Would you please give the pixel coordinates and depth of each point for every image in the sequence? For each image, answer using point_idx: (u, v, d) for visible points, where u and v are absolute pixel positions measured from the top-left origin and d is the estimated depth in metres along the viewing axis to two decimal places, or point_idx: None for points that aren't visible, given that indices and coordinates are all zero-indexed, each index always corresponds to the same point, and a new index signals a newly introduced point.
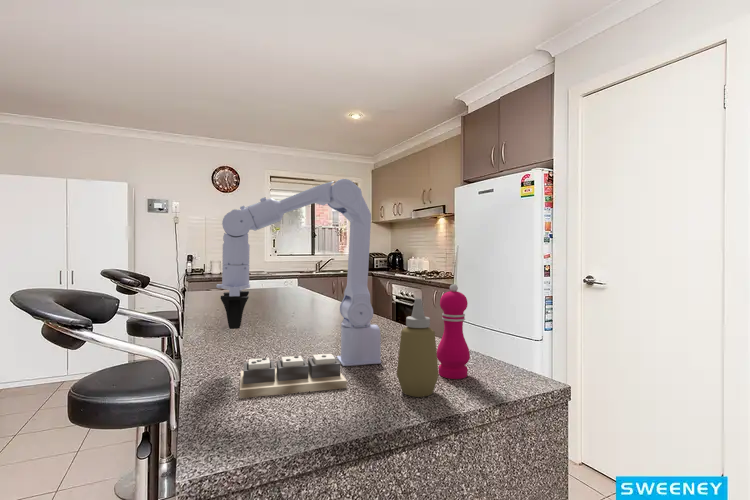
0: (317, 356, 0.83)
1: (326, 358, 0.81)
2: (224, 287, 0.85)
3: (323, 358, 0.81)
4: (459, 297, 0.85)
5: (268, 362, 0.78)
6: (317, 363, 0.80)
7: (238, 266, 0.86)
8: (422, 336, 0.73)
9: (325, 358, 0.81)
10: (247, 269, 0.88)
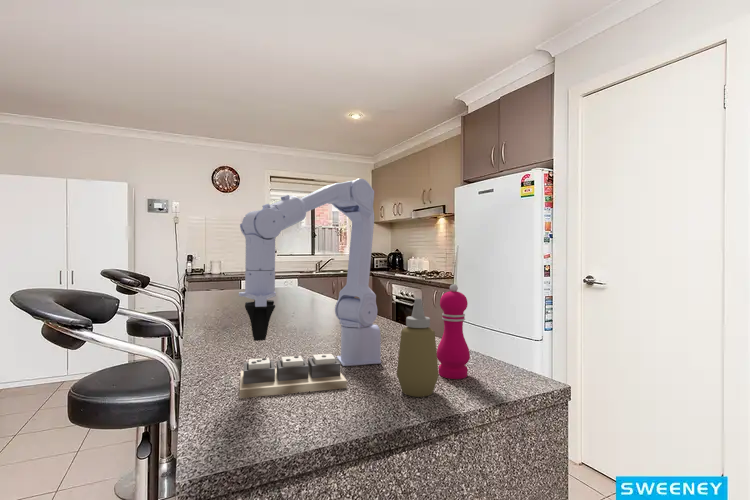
0: (317, 356, 0.83)
1: (326, 358, 0.81)
2: (248, 296, 0.75)
3: (323, 358, 0.81)
4: (459, 297, 0.85)
5: (268, 362, 0.78)
6: (317, 363, 0.80)
7: (263, 272, 0.76)
8: (422, 336, 0.73)
9: (325, 358, 0.81)
10: (273, 275, 0.78)
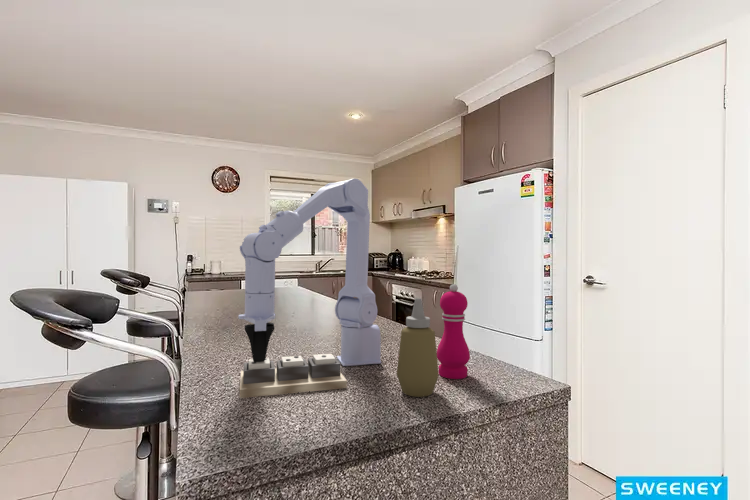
0: (317, 356, 0.83)
1: (326, 358, 0.81)
2: (248, 319, 0.75)
3: (323, 358, 0.81)
4: (459, 297, 0.85)
5: (268, 362, 0.78)
6: (317, 363, 0.80)
7: (263, 295, 0.76)
8: (422, 336, 0.73)
9: (325, 358, 0.81)
10: (273, 298, 0.78)
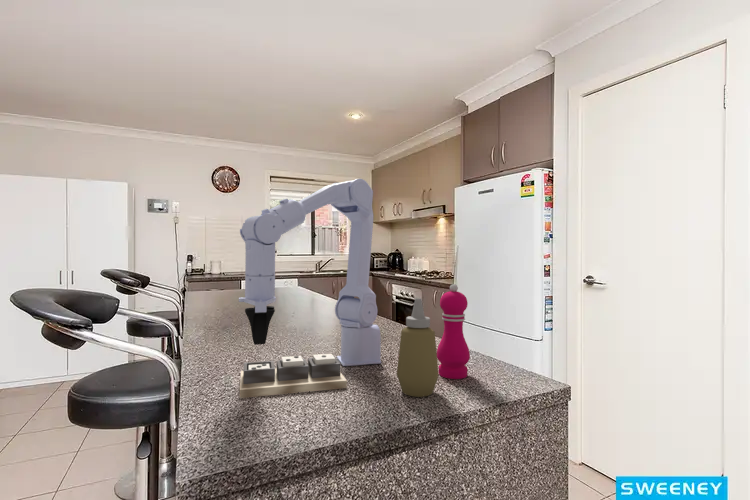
0: (317, 356, 0.83)
1: (326, 358, 0.81)
2: (248, 301, 0.75)
3: (323, 358, 0.81)
4: (459, 297, 0.85)
5: None
6: (317, 363, 0.80)
7: (263, 277, 0.76)
8: (422, 336, 0.73)
9: (325, 358, 0.81)
10: (273, 280, 0.78)
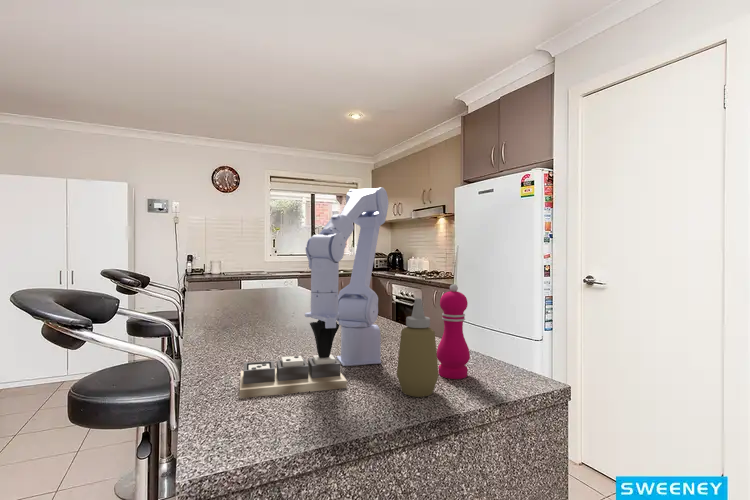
0: (317, 357, 0.83)
1: (326, 359, 0.81)
2: (316, 317, 0.79)
3: (323, 359, 0.81)
4: (459, 297, 0.85)
5: None
6: (317, 364, 0.80)
7: (330, 294, 0.80)
8: (422, 336, 0.73)
9: (325, 359, 0.81)
10: (337, 296, 0.82)
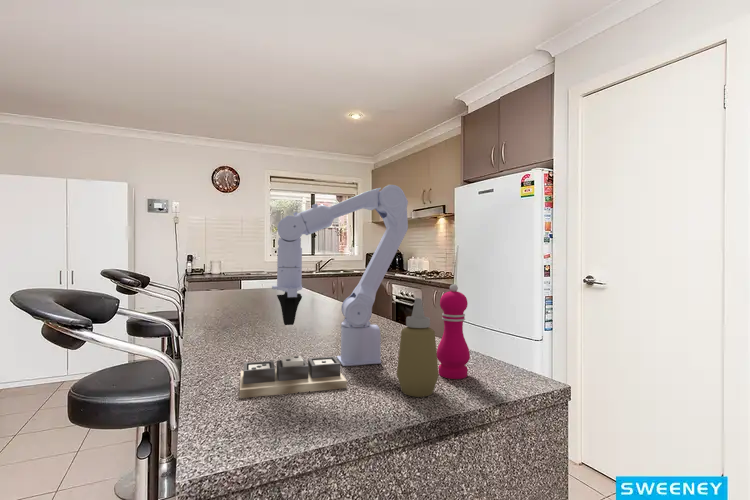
0: (317, 362, 0.83)
1: None
2: (280, 288, 0.91)
3: None
4: (459, 297, 0.85)
5: None
6: None
7: (293, 269, 0.92)
8: (422, 336, 0.73)
9: None
10: (300, 271, 0.94)
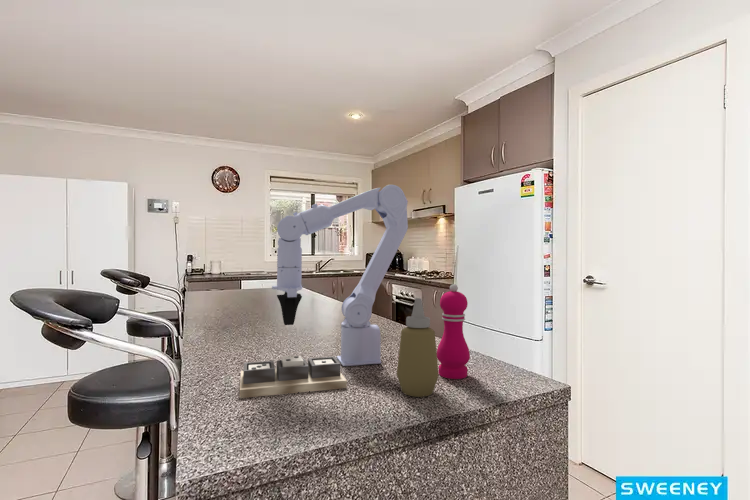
0: (317, 362, 0.83)
1: None
2: (280, 288, 0.91)
3: None
4: (459, 297, 0.85)
5: None
6: None
7: (293, 269, 0.92)
8: (422, 336, 0.73)
9: None
10: (300, 271, 0.94)
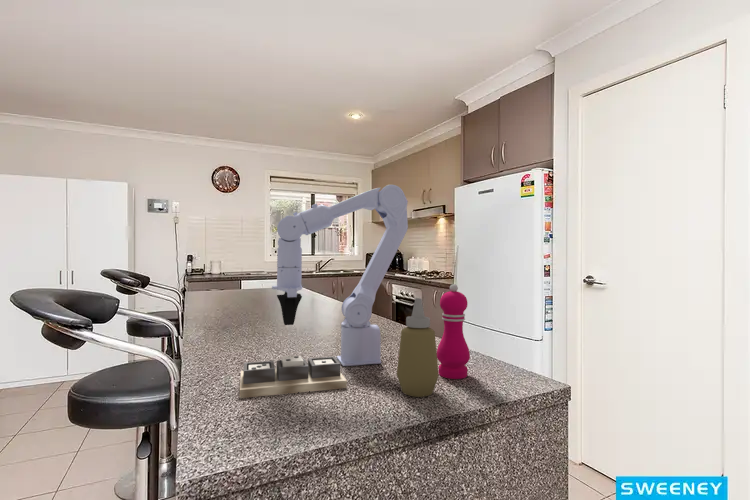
0: (317, 362, 0.83)
1: None
2: (280, 288, 0.91)
3: None
4: (459, 297, 0.85)
5: None
6: None
7: (293, 269, 0.92)
8: (422, 336, 0.73)
9: None
10: (300, 271, 0.94)
